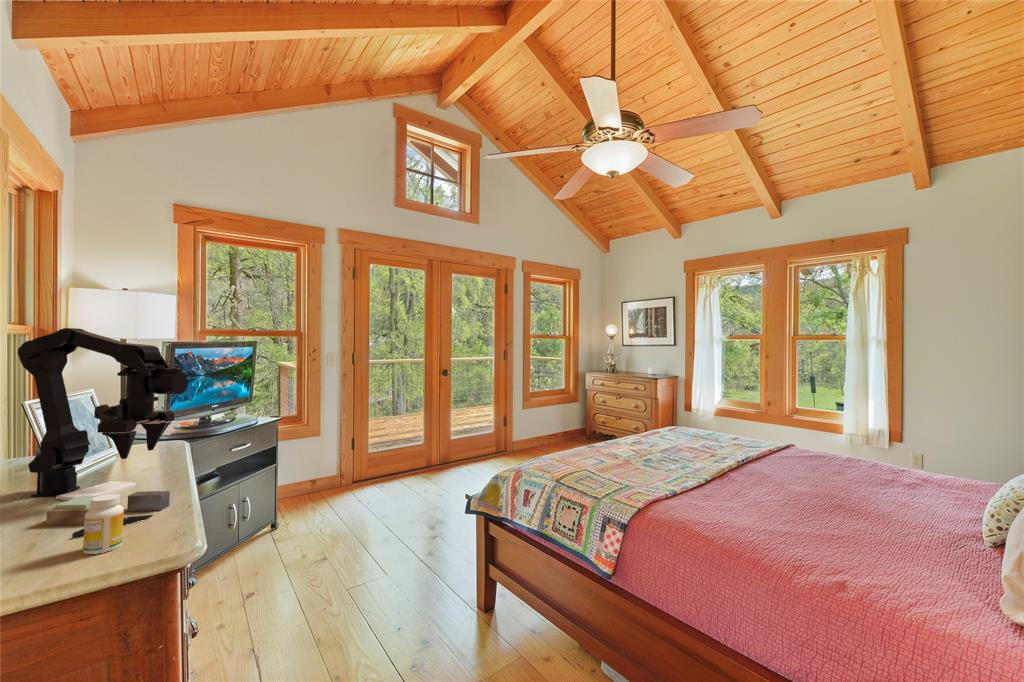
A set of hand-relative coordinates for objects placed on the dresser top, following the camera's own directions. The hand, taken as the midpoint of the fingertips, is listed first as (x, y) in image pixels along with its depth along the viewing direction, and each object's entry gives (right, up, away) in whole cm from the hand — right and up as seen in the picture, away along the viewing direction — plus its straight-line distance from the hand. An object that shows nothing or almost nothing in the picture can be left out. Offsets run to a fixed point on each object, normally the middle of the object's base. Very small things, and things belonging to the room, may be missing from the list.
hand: (137, 454), depth 112 cm
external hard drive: (-10, -11, 0) cm, 15 cm away
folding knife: (+14, -10, -21) cm, 27 cm away
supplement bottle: (+20, -10, -30) cm, 38 cm away
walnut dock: (+3, -10, -17) cm, 20 cm away
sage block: (+2, -10, -16) cm, 19 cm away
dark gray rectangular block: (+12, -10, -10) cm, 19 cm away
